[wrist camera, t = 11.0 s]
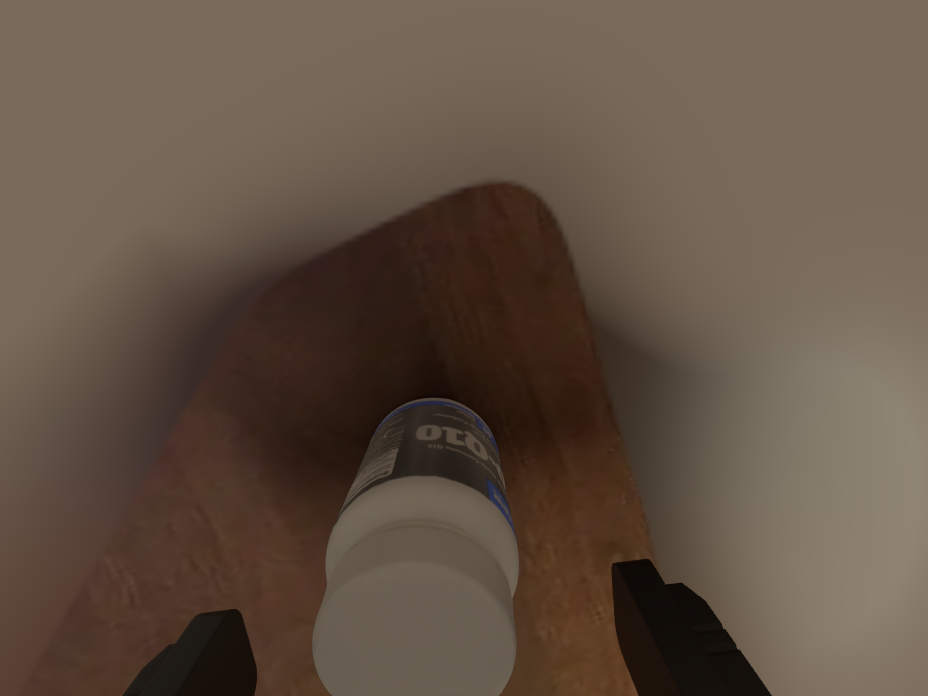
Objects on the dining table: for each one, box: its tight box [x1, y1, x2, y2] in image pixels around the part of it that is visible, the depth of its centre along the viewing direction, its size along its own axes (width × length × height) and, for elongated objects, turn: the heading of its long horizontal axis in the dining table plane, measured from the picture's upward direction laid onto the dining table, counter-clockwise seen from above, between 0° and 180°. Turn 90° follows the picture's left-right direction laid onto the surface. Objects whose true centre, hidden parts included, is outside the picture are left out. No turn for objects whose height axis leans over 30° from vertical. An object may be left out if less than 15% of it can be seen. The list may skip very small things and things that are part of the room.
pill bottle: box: [312, 398, 519, 696], centre depth 13 cm, size 5×5×8 cm
